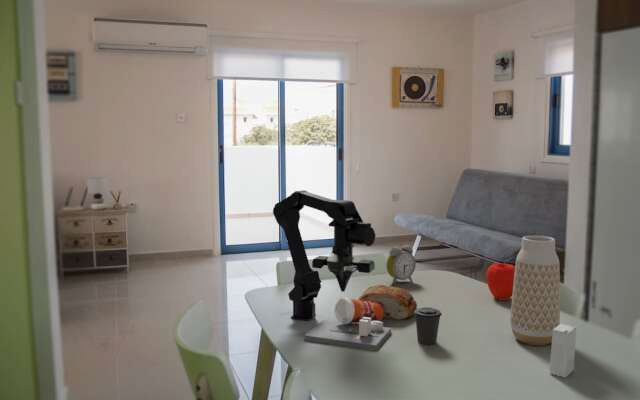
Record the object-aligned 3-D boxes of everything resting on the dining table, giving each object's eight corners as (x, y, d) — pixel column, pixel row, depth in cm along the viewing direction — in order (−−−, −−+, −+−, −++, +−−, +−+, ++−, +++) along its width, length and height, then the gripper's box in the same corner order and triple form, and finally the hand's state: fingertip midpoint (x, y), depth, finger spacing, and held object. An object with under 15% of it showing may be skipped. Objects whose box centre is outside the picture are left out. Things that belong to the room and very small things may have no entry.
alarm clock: (393, 285, 243) (394, 248, 241) (382, 282, 248) (383, 245, 246) (415, 281, 249) (416, 245, 247) (404, 278, 255) (405, 242, 253)
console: (304, 340, 182) (304, 328, 182) (324, 323, 197) (324, 312, 196) (375, 350, 174) (376, 338, 173) (390, 332, 189) (391, 321, 188)
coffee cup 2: (424, 349, 175) (425, 315, 174) (407, 340, 182) (408, 307, 181) (446, 344, 179) (447, 311, 177) (429, 335, 186) (430, 303, 185)
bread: (349, 316, 206) (350, 286, 204) (367, 301, 222) (368, 274, 221) (409, 324, 197) (410, 293, 196) (423, 308, 214) (424, 280, 213)
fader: (358, 335, 181) (359, 320, 180) (363, 331, 184) (363, 316, 184) (367, 336, 180) (367, 321, 179) (371, 332, 183) (371, 317, 183)
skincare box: (557, 367, 162) (559, 322, 161) (574, 371, 159) (577, 326, 158) (548, 374, 158) (550, 328, 156) (566, 379, 155) (569, 332, 153)
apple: (522, 297, 227) (524, 261, 225) (514, 305, 217) (515, 268, 215) (491, 292, 233) (492, 258, 232) (481, 300, 223) (482, 264, 222)
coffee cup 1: (389, 318, 194) (354, 316, 185) (372, 329, 199) (337, 328, 190) (381, 294, 199) (346, 291, 190) (365, 306, 204) (330, 304, 195)
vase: (557, 335, 187) (562, 235, 183) (559, 350, 174) (565, 244, 170) (510, 329, 191) (514, 232, 187) (508, 345, 178) (513, 241, 174)
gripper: (305, 244, 185) (305, 294, 187) (364, 249, 178) (363, 301, 180) (318, 237, 195) (318, 285, 197) (375, 242, 188) (374, 291, 190)
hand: (343, 291), depth 191 cm, fingers closed
